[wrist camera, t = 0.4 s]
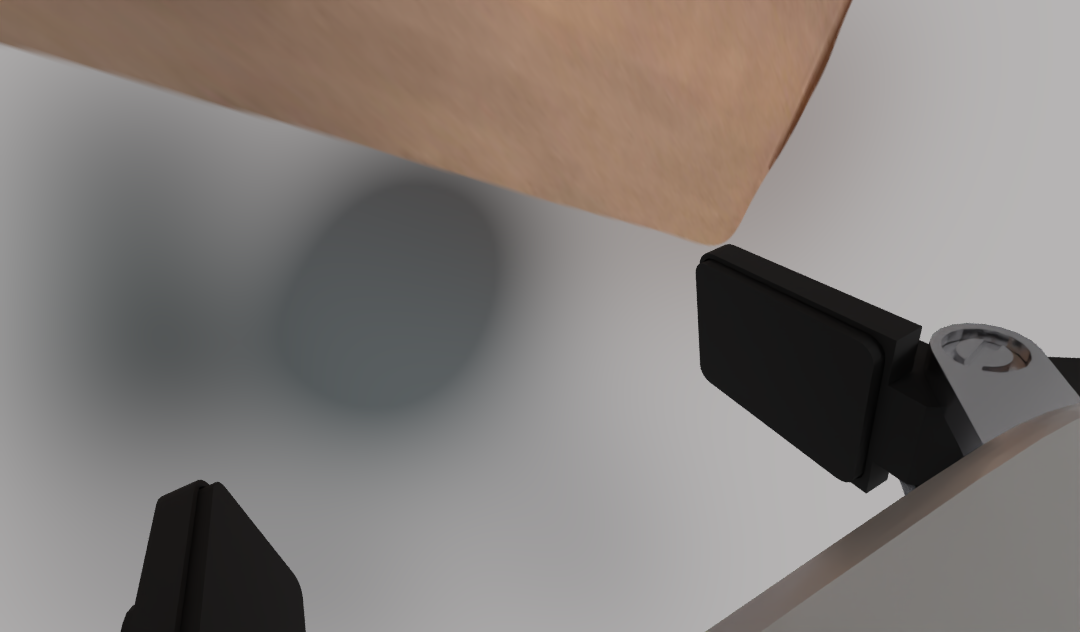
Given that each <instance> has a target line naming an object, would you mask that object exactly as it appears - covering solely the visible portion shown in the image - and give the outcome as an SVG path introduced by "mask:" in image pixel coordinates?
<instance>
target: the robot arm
mask: <svg viewBox="0 0 1080 632" xmlns="http://www.w3.org/2000/svg"><path fill="white" fill-rule="evenodd" d="M696 288H697V307H698V329H699V348H700V366H701V370H702V373H703V375H704V376H705V378H706V379H707V380H708V381H709V382H710V383H712V384H713V385H714V386H716V387H717V388H718V389H719V390H721V391H722V392H724V393H725V394H726V395H728V396H729V397H730V398H731V399H733V400H734V401H735V402H737V403H738V404H739V405H741V406H742V407H743V408H745V409H746V410H747V411H749V412H750V413H751V414H753V415H754V416H755V417H757V418H758V419H759V420H761V421H762V422H763V423H765V424H766V425H767V426H768V427H770V428H771V429H773V430H774V431H775V432H777V433H778V434H779V435H780V436H782V437H783V438H784V439H786V440H787V441H788V442H790V443H791V444H792V445H794V446H795V447H796V448H798V449H799V450H800V451H802V452H803V453H804V454H806V455H807V456H808V457H810V458H811V459H812V460H813V461H815V462H816V463H817V464H819V465H820V466H821V467H823V468H824V469H826V470H827V471H828V472H830V473H831V474H832V475H833V476H835V477H836V478H838V479H839V480H841V481H844V482H851V483H853V484H854V485H855V486H857V487H858V488H859V489H861V490H862V491H864V492H865V493H868V492H869V491H871V490H872V489H874V488H875V487H877V486H878V485H880V484H881V483H883V482H884V481H886V480H887V478H888V474H889V473H891V474H892V475H894V476H895V477H897V478H898V479H899V480H900V483H901V485H902V488H903V491H904V494H905V496H904V497H902V498H901V499H899V500H898V501H896V502H895V503H893V504H892V505H890V506H889V507H888V508H886V509H885V510H883V511H882V512H880V513H879V514H877V515H876V516H874V517H873V518H872V519H870V520H868V521H867V522H865V523H864V524H863V525H861V526H860V527H858V528H857V529H855V530H854V531H852V532H851V533H849V534H848V535H846V536H845V537H843V538H842V539H840V540H839V541H838V542H836V543H834V544H833V545H832V546H830V547H829V548H827V549H826V550H824V551H823V552H821V553H820V554H818V555H817V556H815V557H814V558H812V559H811V560H809V561H808V562H806V563H805V564H804V565H802V566H801V567H799V568H798V569H796V570H795V571H793V572H792V573H791V574H789V575H788V576H786V577H785V578H783V579H782V580H780V581H779V582H778V583H776V584H774V585H773V586H771V587H770V588H769V589H767V590H766V591H764V592H763V593H761V594H760V595H758V596H757V597H756V598H754V599H753V600H751V601H750V602H748V603H747V604H745V605H744V606H742V607H741V608H739V609H738V610H736V611H735V612H734V613H732V614H731V615H729V616H728V617H726V618H725V619H724V620H722V621H720V622H719V623H718V624H716V625H715V626H713V627H712V628H710V629H709V630H707V631H706V632H1080V358H1060V357H1047V356H1046V355H1045V353H1044V352H1043V351H1042V350H1041V349H1040V348H1039V347H1038V346H1037V345H1036V344H1035V343H1033V342H1032V341H1031V340H1030V339H1027V338H1026V337H1024V336H1022V335H1020V334H1018V333H1016V332H1013V331H1010V330H1007V329H1004V328H1001V327H996V326H991V325H986V324H971V323H964V324H954V325H950V326H947V327H944V328H941V329H939V330H938V331H936V332H935V333H934V334H933V335H932V337H931V339H930V342H929V344H927V343H924V342H923V341H920V340H919V338H920V334H921V329H922V326H920V325H918V324H916V323H913V322H911V321H909V320H906V319H904V318H902V317H899V316H897V315H894V314H892V313H890V312H888V311H885V310H883V309H881V308H878V307H876V306H874V305H871V304H869V303H867V302H864V301H862V300H860V299H857V298H855V297H853V296H851V295H848V294H846V293H843V292H841V291H839V290H837V289H834V288H832V287H830V286H827V285H825V284H823V283H820V282H818V281H816V280H813V279H811V278H809V277H806V276H804V275H802V274H799V273H797V272H795V271H792V270H790V269H788V268H786V267H783V266H781V265H778V264H776V263H774V262H772V261H769V260H767V259H765V258H762V257H760V256H758V255H755V254H753V253H750V252H748V251H746V250H743V249H741V248H739V247H736V246H734V245H731V244H727V245H724V246H722V247H719V248H717V249H715V250H713V251H710V252H708V253H706V254H704V255H703V256H702V257H701V260H700V264H699V265H698V266H697V268H696ZM121 632H306V630H305V618H304V607H303V597H302V591H301V588H300V585H299V582H298V580H297V578H296V577H295V575H294V574H293V572H292V571H291V570H290V568H289V567H288V566H287V565H286V563H285V562H284V561H283V560H282V559H281V557H280V556H279V555H278V553H277V552H276V551H275V550H274V548H273V547H272V546H271V545H270V543H269V542H268V541H267V540H266V538H265V537H264V536H263V534H262V533H261V532H260V531H259V529H258V528H257V527H256V526H255V524H254V523H253V522H252V520H251V519H250V518H249V517H248V516H247V514H246V513H245V512H244V510H243V509H242V508H241V507H240V505H239V504H238V503H237V502H236V500H235V499H234V498H233V496H232V495H231V494H230V493H229V492H228V490H227V489H226V488H225V487H224V486H223V485H222V484H221V483H220V482H215V483H213V484H211V485H209V484H208V483H207V482H205V481H203V480H197V481H195V482H193V483H191V484H188V485H186V486H184V487H182V488H179V489H177V490H175V491H173V492H171V493H168V494H166V495H164V496H162V497H160V498H159V499H158V501H157V504H156V508H155V513H154V517H153V523H152V527H151V531H150V536H149V541H148V545H147V551H146V555H145V559H144V564H143V569H142V573H141V578H140V583H139V588H138V592H137V597H136V601H135V605H133V606H132V607H131V608H130V610H129V611H128V612H127V613H126V616H125V619H124V622H123V624H122V629H121Z"/></svg>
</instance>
